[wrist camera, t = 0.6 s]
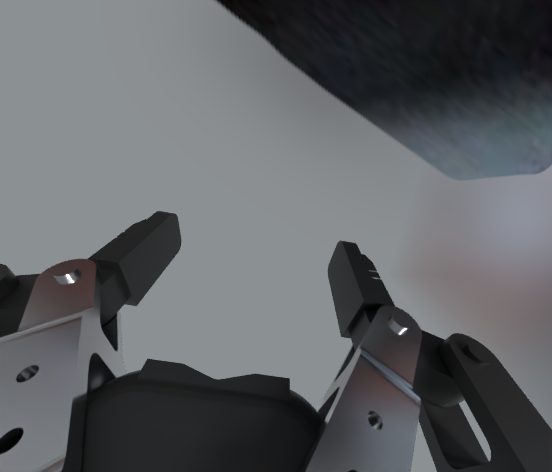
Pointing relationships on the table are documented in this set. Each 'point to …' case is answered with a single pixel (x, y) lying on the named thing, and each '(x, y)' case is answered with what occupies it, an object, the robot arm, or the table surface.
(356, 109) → the table surface
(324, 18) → the table surface
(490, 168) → the table surface
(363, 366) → the robot arm
